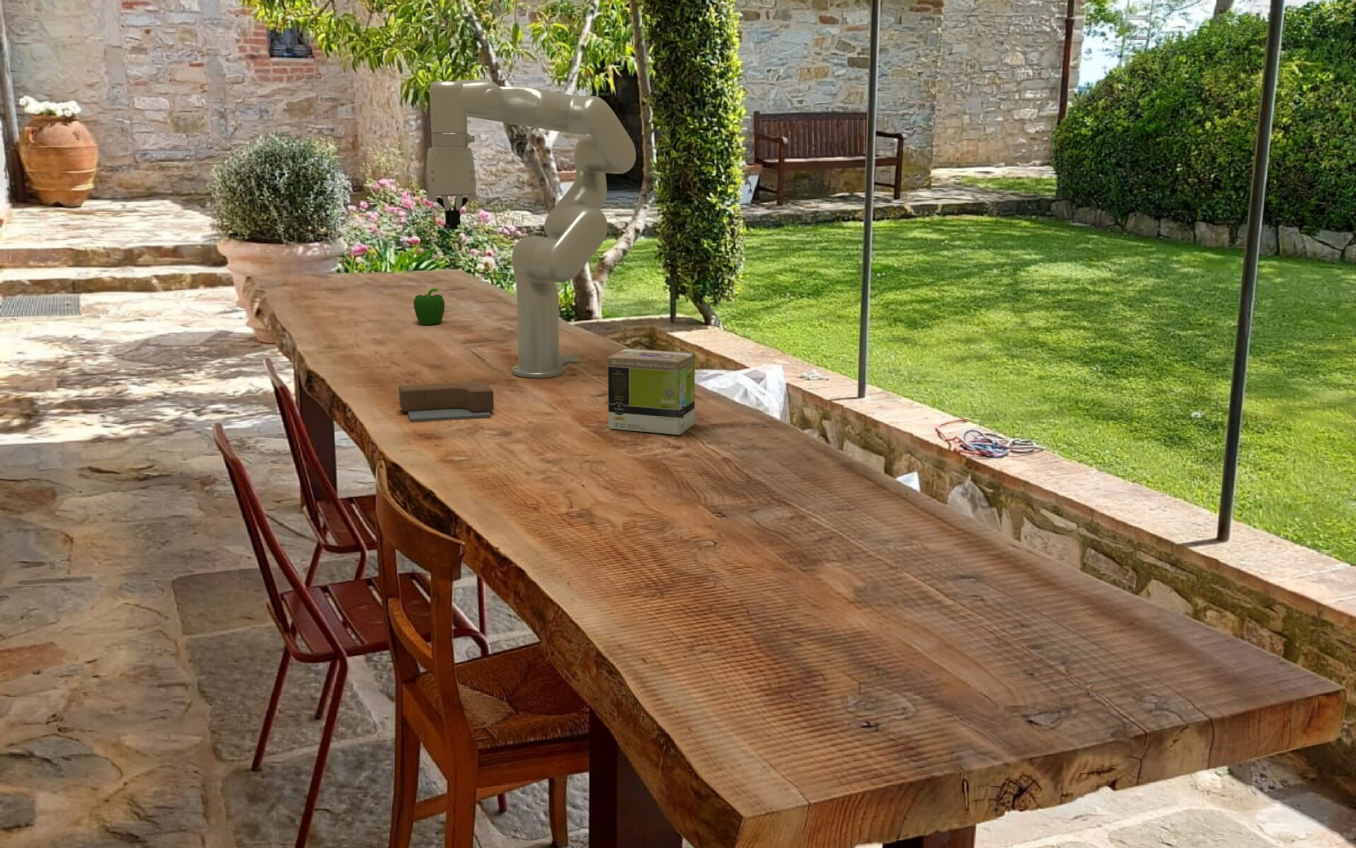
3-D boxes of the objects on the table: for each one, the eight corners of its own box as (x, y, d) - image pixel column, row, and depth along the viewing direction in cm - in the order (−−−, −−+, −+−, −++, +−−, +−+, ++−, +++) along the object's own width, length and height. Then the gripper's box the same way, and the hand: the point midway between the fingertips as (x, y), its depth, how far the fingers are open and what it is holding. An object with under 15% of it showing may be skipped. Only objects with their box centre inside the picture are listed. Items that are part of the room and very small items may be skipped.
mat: (482, 401, 273) (482, 398, 273) (490, 417, 260) (490, 414, 260) (405, 405, 269) (405, 402, 269) (410, 421, 256) (410, 419, 256)
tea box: (695, 424, 257) (696, 351, 253) (679, 437, 248) (680, 361, 244) (625, 417, 262) (625, 346, 258) (606, 429, 253) (606, 355, 249)
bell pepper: (408, 325, 357) (407, 289, 354) (422, 320, 364) (421, 285, 362) (436, 327, 354) (435, 291, 352) (449, 322, 362) (448, 287, 359)
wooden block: (493, 389, 262) (403, 395, 256) (494, 411, 263) (404, 417, 257) (485, 380, 270) (398, 385, 264) (486, 401, 271) (399, 406, 266)
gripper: (482, 140, 278) (485, 225, 283) (412, 140, 274) (416, 227, 278) (487, 142, 271) (490, 229, 276) (415, 142, 267) (419, 231, 271)
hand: (453, 228), depth 277 cm, fingers closed
